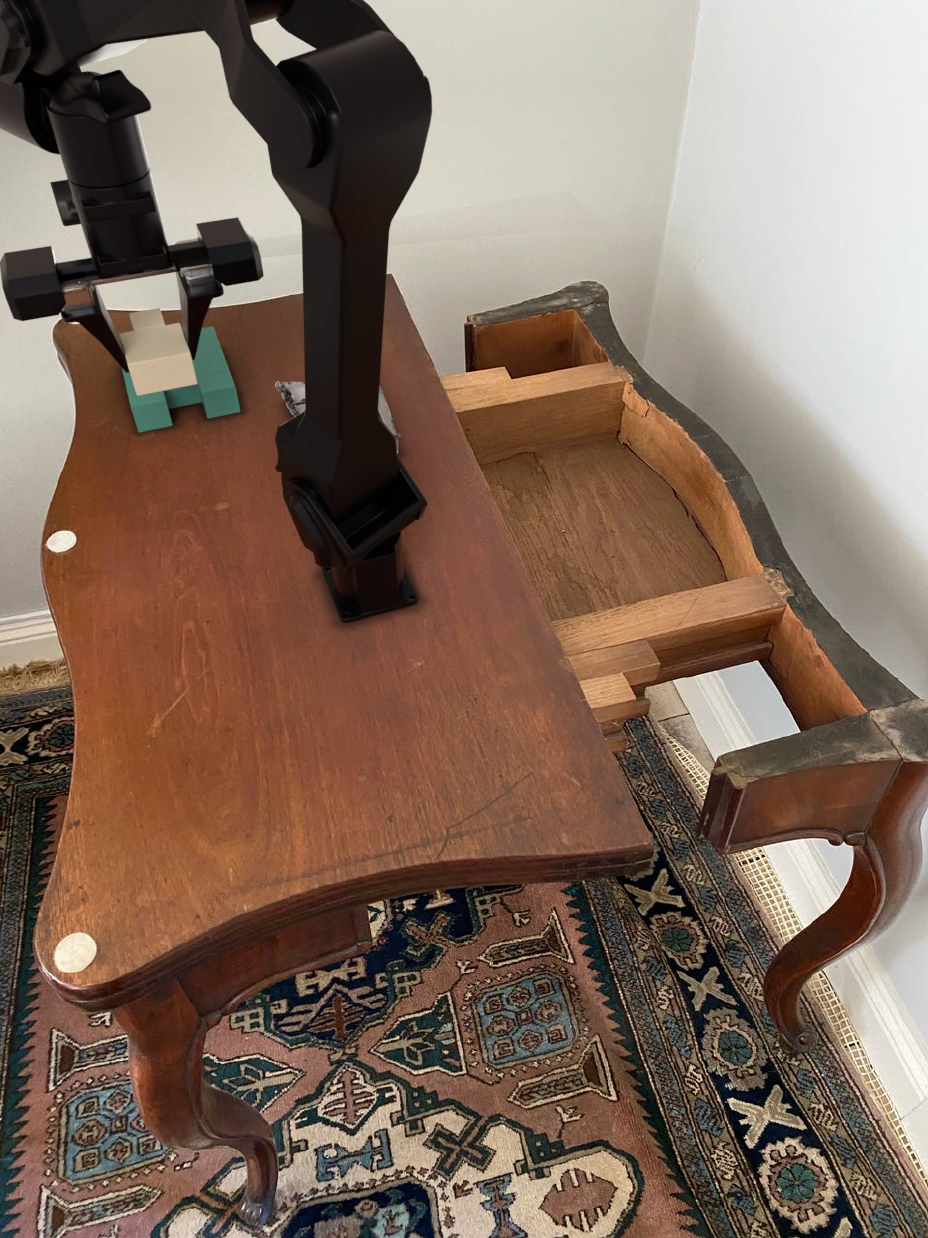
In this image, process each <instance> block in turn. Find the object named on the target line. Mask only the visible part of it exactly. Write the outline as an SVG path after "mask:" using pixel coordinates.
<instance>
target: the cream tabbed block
mask: <svg viewBox="0 0 928 1238" xmlns="http://www.w3.org/2000/svg"><path fill="white" fill-rule="evenodd" d="M128 315H129V318H130V322H131V326H132V330H130V331H126V332H120V333H119V338H120V341H121V343H122V346H123V349H124V353H125V357H126V361H127V364H128V368H129V371H130V374H131V378H132V381H133V384H134V388H135V391H136V394H137V396H140V395H145V394H150V393H155V392H160V391H165V390H170V389H175V388H180V387H185V386H190V385H195V384H197V378H196V374H195V370H194V366H193V361H192V357H191V353H190V350H189V347H188V345H187V342H186V339H185V336H184V333H183V327H182V325H181V323H180V322H176V323H170V324H166V323H165V319H164V316H163V314H162V310H161V308H160V307H157V308H151V309H146V310H140V311H139V310H138V311H134V312H129V313H128Z"/></svg>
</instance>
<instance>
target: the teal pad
mask: <svg viewBox="0 0 928 1238" xmlns="http://www.w3.org/2000/svg"><path fill="white" fill-rule="evenodd" d="M192 361H193V366H194V370H195V374H196V378H197V384H195V385H190V386H185V387H180V388H175V389H170V390H165V391H160V392H155V393H150V394H145V395H140V396H137V394H136V391H135V388H134V384H133V381H132V378H131V374H130V372H128V373H126V372H125V371H124V370H123V369H122V368H121V370H122V371H121V372H122V375H123V380H124V384H125V388H126V392H127V398H128V402H129V405H130V409H131V413H132V415H133V419H134V422H135V425H136V428H137V432H138V434H139V433H140V434H141V433H144V432H145V433H146V432H149V431H154V430H159V429H165V428H169V427H173V426H174V424H173V420H172V418H171V414H170V409H175V408H181V407H186V406H191V405H196V404H201V403H202V405H203V409H204V411H205V415H206V417H207V419H213V418H218V417H224V416H227V415H233V414H237V413H241V406H240V402H239V396H238V392H237V387H236V385H235V381H234V379H233V376H232V373H231V370H230V368H229V365H228V362H227V359H226V357H225V355H224V352H223V349H222V346H221V344H220V341H219V339H218V336H217V333H216V330H215V327H214V326H213V325H211V326H206V327H202V330H201V334H200V339H199V343H198V348H197V353H196V357H195V360H192Z"/></svg>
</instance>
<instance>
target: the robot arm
mask: <svg viewBox="0 0 928 1238" xmlns="http://www.w3.org/2000/svg"><path fill="white" fill-rule="evenodd" d="M273 21H276V22H277V24H278V25H279V26H280V27H281V28H282V29H283V30H285V31H286V32H287V33H288V34H290V35H292V36H293V37H295V38H297V39H299V40H301V41H302V42H303V43H305V44H307V45H309V46H310V47H311V48H314V49H313V50H309V51H307V52H303V53H301V54H298V55H294V56H292V57H288V58H286V59H281V60H280V61H279V62H278V63H277V64H275V63H274V61H272V60H271V59H270V57H269V56H268V55H267V53H265V51H264V50H263V49H262V48H261V47H260V45H259V44H258V43H257V42H256V40H255V39H254V36H253V35H254V34H253V30H252V27H255V26H258V25H261V24H265V23H268V22H273ZM199 32H200V33H201V32H205V33H206V35H207V36H208V37H209V38H210V39H211V41H213V43H214V44H215V46H216V47H217V48H218V51H219V56H220V60H221V66H222V69H223V74H224V78H225V83H226V87H227V92H228V96H229V99H230V101H231V103H232V105H233V106H234V107H235V108H236V110H238V112H239V113H240V114H241V115H242V116H243V118H244V119H245V120H246V121H247V123H248V124H249V125H250V126H251V127H252V128H253V130H254V131H255V132H256V133H257V134H258V135H259V136H260V138H261V139H262V140H263V142H264V143H266V146H267V151H268V157H269V165H270V169H271V175H272V178H273V179H274V180H275V182H276V183H277V185H278V186H279V188H280V189H281V191H282V192H283V194H284V195H285V196H286V198H287V200H288V201H289V203H290V204H291V205H292V207H293V208H294V209H295V211H296V212H297V214H298V216H299V219H300V225H301V258H302V261H301V265H302V266H301V267H302V268H301V269H302V306H303V307H302V308H303V310H302V311H303V313H302V314H303V315H302V316H303V357H304V359H303V360H304V363H303V365H304V384H305V411H304V412H302V413H300V414H299V415H297V416H295V417H292V418H290V419H288V420H287V421H286V422H284V423H282V424H280V425H279V426H277V427H276V433H275V437H274V441H275V447H276V451H277V463H276V465H275V468H274V469H275V471H276V472H277V473H281V486H282V495H283V496H282V498H283V500H284V503H285V506H286V507H287V510H288V512H289V515H290V517H291V520H292V522H293V525H294V527H295V530H296V531H297V534H298V537H299V539H300V541H301V542H302V545H303V546H304V548H306V549H307V550H309V551H310V552H311V553H313V557H314V563H315V565H317V566H318V567H320V568H321V574H322V576H323V579H324V581H325V584H326V587H327V589H328V591H329V595H330V597H331V600H332V602H333V605H334V607H335V611H336V612H337V615H338V617H339V620H340V622H341V623H343V624H348V623H353V622H357V621H360V620H364V619H367V618H371V617H375V616H378V615H383V614H385V613H390V612H393V611H397V610H400V609H405V608H408V607H413V606H415V605H417V604H418V602H419V595H418V594H417V591H416V589H415V586H414V585H413V583H412V580H411V578H410V576H409V574H408V572H407V570H406V568H405V565H404V559H403V543H402V542H403V541H402V540H403V539H402V531H403V530H405V529H406V528H407V527H409V526H410V525H412V524H413V523H414V522H415V521H418V520H420V519H421V518H423V516H424V514H425V511H426V509H427V507H428V501H427V499H426V497H425V496H424V495H423V493H422V491H421V489H420V488H419V486H418V485H417V484H416V482H415V481H414V479H413V478H412V476H411V475H410V473H409V471H408V470H407V468H406V466H405V465H404V464H403V462H402V460H401V459H400V458H399V456H398V454H397V449H396V438H395V436H394V435H393V433H392V432H391V431H390V430H389V428H388V427H387V426H386V425H385V423H384V422H383V421H382V420H381V418H380V417H379V415H378V402H379V386H380V385H381V369H382V353H383V352H382V351H383V338H384V337H383V336H384V322H385V306H386V305H385V304H386V291H387V290H386V289H387V287H386V286H387V274H388V273H387V272H388V256H389V240H390V230H391V225H392V222H393V220H394V218H395V216H396V214H397V213H398V210H399V208H400V207H401V206H402V203H403V202H404V199H405V198H406V196H407V194H408V192H409V191H410V189H411V187H412V185H413V184H414V182H415V180H416V178H417V177H418V174H419V172H420V169H421V165H422V160H423V156H424V153H425V148H426V144H427V140H428V137H429V136H428V135H429V131H430V127H431V122H432V117H433V95H432V90H431V85H430V80H429V78H428V76H426V75H424V71H423V70H422V68H421V66H420V64H419V63H418V62H417V60H416V58H415V56H414V55H413V54H412V52H411V51H410V49H409V48H408V47H407V45H406V44H405V42H403V41H401V39H399V38H398V37H397V36H396V34H395V33H394V32H393V31H392V30H391V29H390V27H389V26H388V25H387V24H386V23H385V22H384V20H383V19H382V17H380V16H379V14H378V13H377V12H376V10H374V9H373V8H372V6H371V5H370V4H369V3H368V2H366V0H0V129H1V130H2V131H4V132H7V133H8V134H10V135H13V136H15V137H17V138H18V139H21V140H23V141H25V142H27V143H29V144H31V145H33V146H35V147H37V148H39V149H41V150H43V151H46V152H47V153H50V154H54V155H59V156H60V159H61V162H62V165H63V168H64V171H65V175H66V179H61V180H53V181H50V182H49V183H50V187H51V190H52V194H53V197H54V200H55V201H54V202H55V204H56V207H57V211H58V214H59V217H60V220H61V223H62V225H63V226H64V227H70V226H71V227H72V226H77V225H78V226H79V225H80V226H81V228H82V232H83V235H84V239H85V242H86V245H87V248H88V251H89V254H90V257H86V258H81V259H80V258H79V259H75V260H69V261H62V262H61V261H60V262H58V260H57V257H56V254H55V251H54V249H53V247H52V245H47V246H42V247H41V246H40V247H35V248H29V249H21V250H15V251H9V252H4V254H3V255H2V257H1V259H0V279H1V286H2V291H3V294H4V297H5V300H6V302H7V305H8V308H9V310H10V313H11V315H12V318H13V320H17V321H20V322H26V321H31V320H37V319H44V318H49V317H54V316H59V315H60V316H61V319H62V321H63V322H65V323H67V324H71V323H78V324H79V325H80V326H82V328H83V329H84V330H86V331H87V332H88V333H89V334H90V335H91V336H93V337H94V338H95V339H96V340H97V341H98V342H99V343H100V345H102V346H103V348H104V349H105V350H106V351H107V352H108V354H109V355H110V356H111V357H112V358H113V359H114V361H115V362H116V363H117V364H118V365H119V366H120V368H121V370H122V369H123V370H124V371H125V372H126V373H128V372H130V371H129V368H128V364H127V361H126V357H125V353H124V349H123V346H122V342H121V338H120V335H119V333H118V331H117V330H116V327H115V325H114V323H113V321H112V319H111V316H110V314H109V312H108V310H107V307H106V306H105V303H104V301H103V298H102V296H101V293H100V290H99V288H98V286H100V285H106V284H113V283H119V282H124V281H131V280H138V279H142V278H143V279H144V278H149V277H155V276H160V275H167V274H172V273H173V274H174V273H175V277H176V282H177V287H178V295H179V304H180V315H181V322H182V331H183V333H184V336H185V339H186V342H187V345H188V347H189V350H190V353H191V357H192V360H195V357H196V353H197V348H198V343H199V339H200V334H201V330H202V328H203V325H204V322H205V319H206V317H207V314H208V312H209V310H210V306H211V304H212V301H213V299H216V298H220V297H222V296H223V295H224V293H225V291H224V286H225V287H229V286H234V285H235V286H236V285H240V284H246V283H252V282H259V281H260V280H261V279H262V278H263V277H265V276H264V268H263V262H262V257H261V252H260V249H259V246H258V244H257V241H256V239H255V237H254V236H253V234H252V232H251V230H250V228H249V226H248V224H247V223H246V222H244V221H243V220H242V219H240V217H237V216H236V217H231V218H224V219H218V220H211V221H205V222H199V223H195V231H196V236H197V238H191V239H185V240H180V241H177V242H175V243H174V244H170V245H169V242H168V238H167V234H166V230H165V225H164V222H163V217H162V212H161V209H160V204H159V199H158V196H157V191H156V187H155V183H154V179H153V174H152V170H151V166H150V162H149V157H148V154H147V150H146V149H147V148H146V145H145V140H144V136H143V132H142V128H141V124H140V123H141V122H140V119H139V115H142V114H144V113H148V112H150V111H151V110H152V102H151V101H150V99H149V98H148V97H147V95H146V94H145V93H144V91H143V90H142V89H140V88H139V87H137V86H136V85H134V84H133V83H132V82H131V81H130V80H129V79H128V78H127V76H126V75H125V73H124V72H123V71H122V70H121V69H116V70H113V71H109V72H106V73H100V72H97V71H88V70H85V71H82V69H81V67H84V66H88V65H91V64H94V63H97V62H98V63H99V62H101V61H104V60H108V59H110V58H115V57H118V56H122V55H125V54H127V53H129V52H131V51H132V50H134V49H136V48H137V47H139V46H141V45H142V44H144V43H146V42H147V40H150V39H156V38H163V37H171V36H177V35H186V34H193V33H199ZM223 285H224V286H223ZM380 387H381V386H380Z"/></svg>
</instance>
